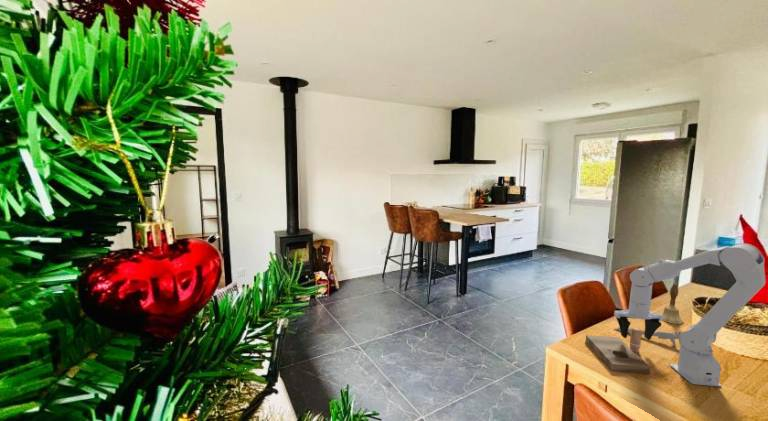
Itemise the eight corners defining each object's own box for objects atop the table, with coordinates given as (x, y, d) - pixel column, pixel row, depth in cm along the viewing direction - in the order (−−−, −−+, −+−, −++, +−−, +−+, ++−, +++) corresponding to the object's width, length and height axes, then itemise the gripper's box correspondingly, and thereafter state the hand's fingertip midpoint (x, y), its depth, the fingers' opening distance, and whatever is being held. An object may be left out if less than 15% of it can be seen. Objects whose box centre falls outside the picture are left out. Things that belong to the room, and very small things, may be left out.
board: (649, 374, 101) (650, 367, 101) (611, 370, 103) (612, 363, 102) (617, 343, 119) (617, 337, 118) (585, 341, 120) (586, 334, 120)
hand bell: (655, 313, 143) (660, 279, 141) (680, 318, 139) (685, 283, 136) (660, 321, 136) (664, 285, 134) (686, 326, 132) (691, 289, 129)
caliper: (682, 347, 116) (684, 331, 116) (682, 349, 116) (684, 332, 115) (614, 329, 130) (615, 314, 129) (613, 330, 129) (615, 315, 128)
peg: (641, 353, 112) (644, 332, 111) (632, 352, 113) (634, 331, 112) (636, 348, 116) (638, 327, 114) (626, 347, 116) (629, 327, 115)
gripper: (655, 298, 115) (650, 333, 116) (611, 295, 117) (607, 330, 119) (669, 306, 108) (664, 343, 110) (622, 303, 110) (618, 340, 112)
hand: (635, 337), depth 114 cm, fingers open, 7 cm apart
